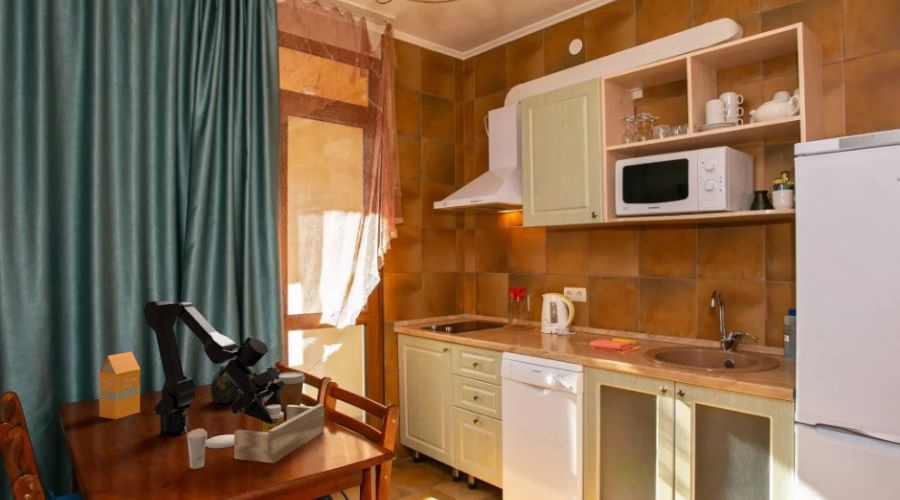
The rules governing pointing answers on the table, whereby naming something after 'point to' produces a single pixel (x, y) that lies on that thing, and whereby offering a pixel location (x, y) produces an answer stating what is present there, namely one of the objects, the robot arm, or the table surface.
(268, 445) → the wooden u-shaped barrier
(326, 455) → the table surface
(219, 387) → the squash
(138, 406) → the orange juice
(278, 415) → the supplement bottle
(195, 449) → the milkshake
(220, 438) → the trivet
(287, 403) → the disposable coffee cup
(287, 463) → the table surface
